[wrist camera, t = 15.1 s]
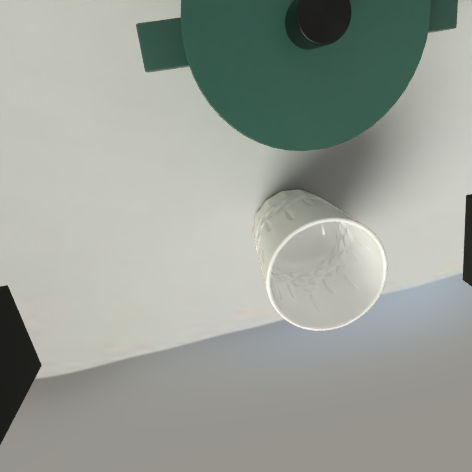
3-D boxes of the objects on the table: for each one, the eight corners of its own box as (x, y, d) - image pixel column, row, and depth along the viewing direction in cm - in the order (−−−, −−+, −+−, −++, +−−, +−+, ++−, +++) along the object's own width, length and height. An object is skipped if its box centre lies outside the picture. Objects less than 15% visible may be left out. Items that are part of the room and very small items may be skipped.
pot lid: (158, -109, 20) (151, -151, 16) (422, -140, 21) (471, -187, 17) (203, 163, 24) (205, 176, 21) (417, 130, 25) (454, 137, 22)
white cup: (299, 283, 37) (337, 349, 28) (228, 241, 35) (242, 296, 26) (353, 213, 36) (412, 258, 26) (281, 163, 34) (317, 193, 24)
